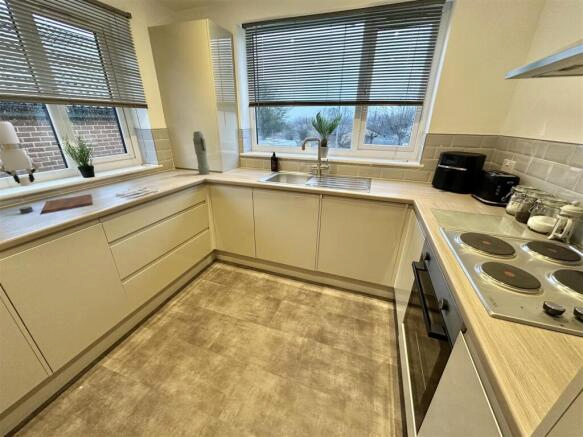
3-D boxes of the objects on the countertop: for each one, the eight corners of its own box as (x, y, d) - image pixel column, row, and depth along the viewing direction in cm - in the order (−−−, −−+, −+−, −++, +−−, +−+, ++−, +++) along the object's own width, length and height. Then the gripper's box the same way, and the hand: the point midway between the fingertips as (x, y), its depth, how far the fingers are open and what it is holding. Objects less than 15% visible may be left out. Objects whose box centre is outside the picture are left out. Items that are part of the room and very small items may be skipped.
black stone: (21, 217, 119) (18, 209, 117) (23, 215, 122) (19, 207, 120) (34, 215, 121) (30, 207, 120) (35, 212, 124) (32, 205, 123)
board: (39, 214, 122) (37, 211, 122) (44, 204, 138) (43, 201, 138) (92, 204, 135) (91, 202, 134) (91, 196, 151) (91, 193, 150)
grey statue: (206, 175, 204) (199, 131, 190) (195, 174, 208) (188, 131, 194) (213, 173, 211) (207, 131, 198) (202, 172, 215) (195, 131, 202)
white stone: (20, 186, 126) (17, 178, 125) (22, 184, 130) (19, 177, 128) (31, 185, 129) (29, 177, 128) (33, 183, 132) (30, 176, 131)
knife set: (107, 194, 153) (107, 193, 153) (158, 182, 181) (158, 181, 181) (129, 200, 141) (129, 198, 141) (180, 186, 169) (180, 184, 169)
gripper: (35, 145, 130) (48, 179, 137) (-12, 148, 120) (4, 183, 127) (33, 146, 124) (46, 181, 131) (-17, 149, 115) (1, 186, 121)
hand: (25, 182), depth 129 cm, fingers closed on white stone, 4 cm apart
